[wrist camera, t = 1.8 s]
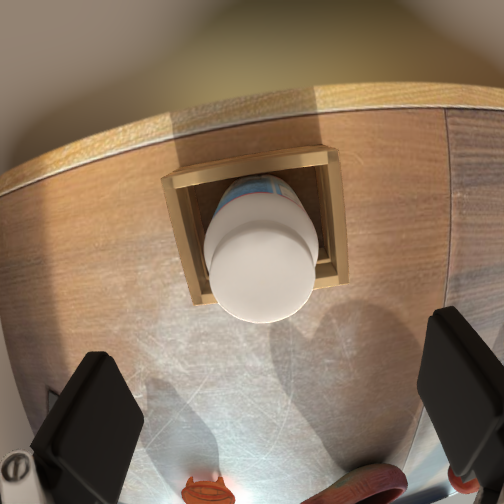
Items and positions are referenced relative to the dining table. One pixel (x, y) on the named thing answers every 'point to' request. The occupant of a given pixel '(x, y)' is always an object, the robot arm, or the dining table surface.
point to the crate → (184, 178)
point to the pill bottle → (261, 250)
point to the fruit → (463, 487)
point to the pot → (207, 492)
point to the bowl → (364, 486)
